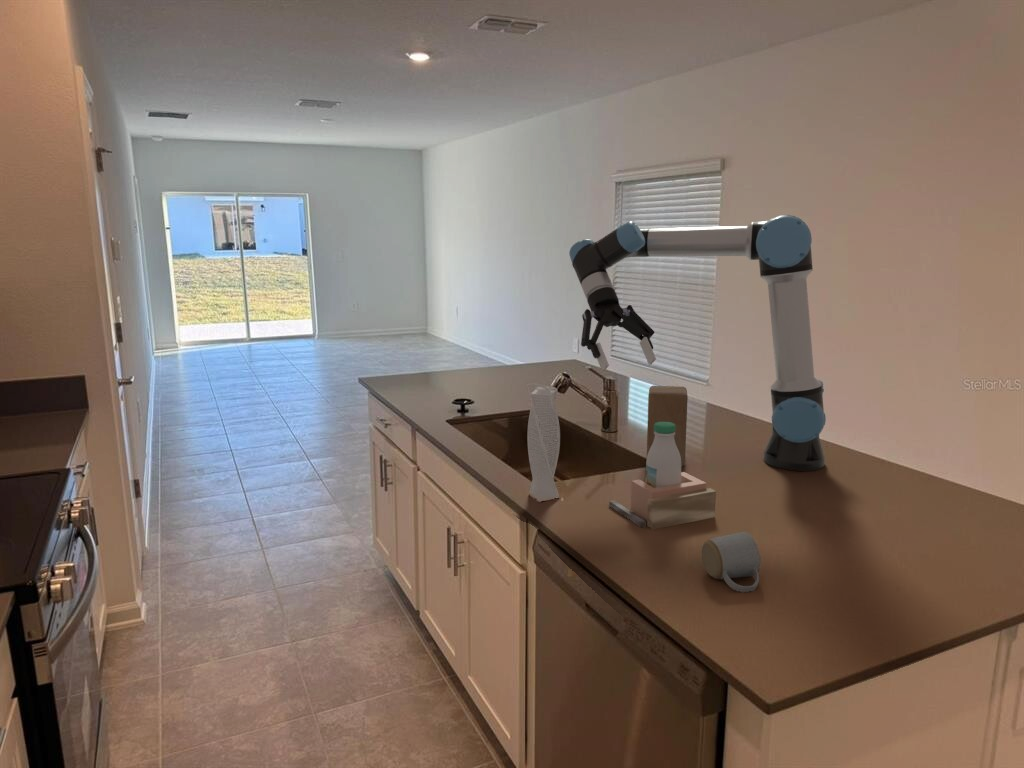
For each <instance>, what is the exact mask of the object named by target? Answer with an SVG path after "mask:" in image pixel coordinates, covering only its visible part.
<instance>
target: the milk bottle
mask: <svg viewBox="0 0 1024 768" xmlns="http://www.w3.org/2000/svg"><path fill="white" fill-rule="evenodd" d="M654 434H655V438H654V441H653V444H652V446H651V448H650V450H649V452H648V455H647V454H646V462H645V481H644V482H645V483H646V484H648V485H650V486H652V487H653V488H659V487H664V486H670V485H676V484H681V472H682V466H681V457H680V453H679V451H678V449H677V446H676V444H675V440H674V435H675V424H674V423H671V422H657V423H655V424H654Z"/></svg>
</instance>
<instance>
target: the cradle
mask: <svg viewBox="0 0 1024 768" xmlns="http://www.w3.org/2000/svg"><path fill="white" fill-rule="evenodd" d="M630 483H631V484H630V487H631V489H630V511H631V512H633V513H634V514H636V515H637V516H639V517H640V518H642V519H643V520H645V521H646V522H647V516H648V499H653V498H658V497H664V496H669V495H675V494H681V493H686V492H692V491H697V490H703V489H707V482H705V481H703V480H701V479H699V478H698V477H696V476H694V475H691V474H689V473H687V472H685V471H681V484H676V485H670V486H664V487H659V488H653V487H652V486H650V485H648V484H646V483H645V481H643V480H641V479H634V480H631V482H630Z"/></svg>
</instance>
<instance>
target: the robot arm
mask: <svg viewBox="0 0 1024 768" xmlns="http://www.w3.org/2000/svg"><path fill="white" fill-rule="evenodd" d="M568 253H569V258H570V261H571V266H572V267H573V269H574V271H575V274H576V276H577V279H578V281H579V283H580V286H581V288H582V292H583V293H584V296H585V298H586V301H587V304H588V306H589V309H588V308H586V309H585V311H583V313H582V315H581V318H582V321H583V323H582V324H583V326H582V332H581V333H582V335H581V339H580V340H581V341H580V345H581V347H583V348H584V347H586V348H587V350H589V351H591V354H592V356H593V358H594V359H596V360H597V362H598V366H599V367H600V371H601V372H605V371H606V370H607V368H608V367H609V366H610V364H609V362H608V359H607V356H606V355H605V352H604V349H603V347H602V344H601V342H598V339H599V337H600V334H601V333H602V330H603V327H605V328H609V327H617V326H618V327H619V328H622V329H624V330H626V331H627V332H629V333H630V334H631V335H633V336H635V338H636V339H637V338H638V339H639V340H640V342H639V345H640V347H641V349H642V352H643V354H644V357H645V359H646V361H647V363H648V365H649V366H650V365H652V364H653V363H654V362H655V361H656V360H657V357H656V355H655V353H654V351H653V349H654V346H653V343H652V340H651V338H652V337H653V335H654V334H655V330H654V329H653V328H652V327H650V325H648V324H647V323H646V322H645V320H644V319H642V317H641V316H639V314H638V313H636V311H635V309H634V307H633V306H632V305H631V304H628V305H627V306H626V307H622V306H621V305H620V302H619V297H618V295H617V291H616V290H615V289H614V285H613V283H612V280H611V278H610V275H609V274H608V271H607V269H609V268H611V267H613V266H614V265H616V264H618V263H619V262H621V261H623V260H624V259H627V258H646V257H647V258H648V257H651V258H652V257H653V258H656V257H657V258H658V257H662V258H663V257H665V258H666V257H747V258H748V259H749V260H751V261H752V260H753V261H755V260H756V261H758V264H759V274H760V278H761V279H762V280H764V281H765V282H766V283H767V290H768V299H769V311H770V313H769V314H770V323H771V325H770V326H771V335H772V345H773V356H774V367H775V381H774V382H773V383H772V384H771V386H770V395H771V396H770V397H771V407H772V409H771V410H772V415H771V424H772V431H771V434H770V437H769V439H768V441H767V443H766V446H765V448H764V451H763V461H764V462H765V463H766V464H768V465H770V466H771V467H775V468H778V469H783V470H788V471H797V472H799V471H800V472H810V471H816V470H820V469H822V468H824V467H825V458H826V457H825V454H824V451H823V447H822V443H821V439H820V434H821V433H822V431H823V429H824V427H825V425H826V413H825V412H824V411H825V409H824V400H823V399H824V398H823V397H824V396H823V394H824V391H825V390H824V382H823V381H822V380H820V379H817V378H816V377H815V373H814V372H815V369H814V359H813V358H814V357H813V344H812V335H811V333H812V331H811V321H810V320H811V319H810V310H809V309H810V308H809V307H810V306H809V295H808V284H807V278H808V276H809V275H810V274H811V273H812V271H813V258H812V256H813V255H812V232H811V230H810V228H809V226H808V225H807V224H806V222H805V221H804V220H802V219H801V218H799V217H797V216H795V215H790V214H784V215H783V214H782V215H781V214H780V215H778V216H774V217H771V218H770V219H768V220H765V221H763V220H762V221H751V222H750V223H749V224H748V225H737V226H736V225H733V226H729V225H728V226H699V227H695V226H693V227H664V228H663V227H662V228H658V227H656V228H640V227H639V226H638V224H637V223H636V222H634V221H632V220H631V221H627V222H625V223H624V224H622V225H619V226H618V227H617V228H616V229H614V230H612V231H611V232H609V233H607V235H605V236H604V237H602V238H600V239H599V240H597V241H594V240H593V239H590V238H589V239H588V238H585V239H582V240H581V241H580V240H579V241H577V242H575V243H574V244H572V246H571V247H570V249H569V252H568ZM593 318H594V320H596V321H597V323H596V326H595V329H594V331H593V333H592V336H591V328H592V319H593ZM621 320H622V321H621ZM590 337H591V338H590Z"/></svg>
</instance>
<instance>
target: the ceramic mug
mask: <svg viewBox="0 0 1024 768" xmlns="http://www.w3.org/2000/svg"><path fill="white" fill-rule="evenodd" d="M701 560H702V565H703V567H704V569H705V571H706V572H707V574H708V576H710V577H711V578H713V579H715V580H724V581H725V583H726V584H727V586H729V587H730V588H731V590H733V591H735V590H736V592H739V591H740V593H744V592H746V593H750V592H749V591H751V592H753V591H755V590H756V589H757V587H758V586H759V585H758V584H759V581H760V577H759V572H760V568H761V563H762V562H761V554H760V550H759V547H758V544H757V543H756V541H755V539H754V537H753V536H752V535H751V534H750V533H748V532H746V531H740V532H739V531H738V532H735V533H731V534H726V535H722V536H717V537H713V538H710V539H708V540H706V541H704V543H703V544H702V546H701ZM752 576H753V578H754V583H753V584H752V585H741V584H738V583H736V582H734V581H733V580H732V579H733V578H744V577H752Z"/></svg>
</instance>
